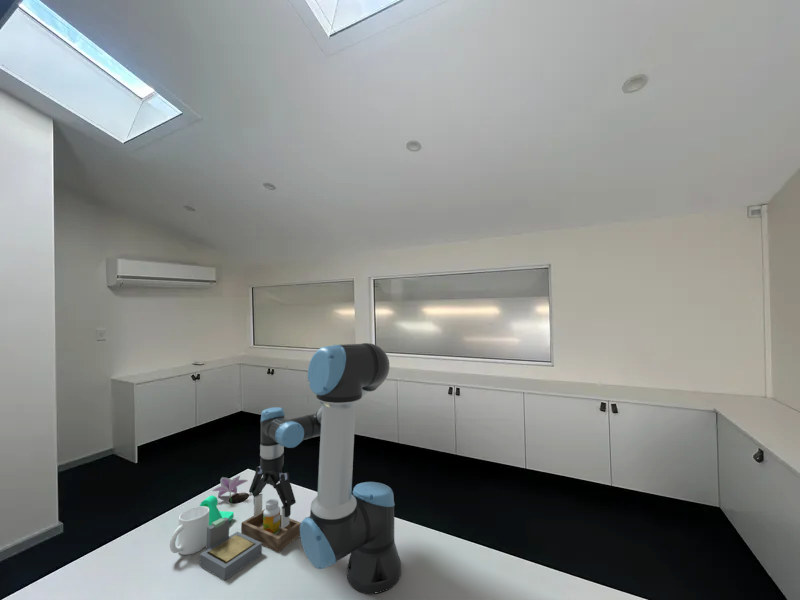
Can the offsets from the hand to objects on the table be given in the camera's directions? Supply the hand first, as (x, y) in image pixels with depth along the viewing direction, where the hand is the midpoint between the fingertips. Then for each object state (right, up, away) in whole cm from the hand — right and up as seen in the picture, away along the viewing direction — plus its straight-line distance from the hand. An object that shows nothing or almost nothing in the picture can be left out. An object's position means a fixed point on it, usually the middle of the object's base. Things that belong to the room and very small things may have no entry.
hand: (271, 520), depth 110 cm
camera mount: (-24, -6, +6) cm, 25 cm away
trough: (0, -5, 0) cm, 5 cm away
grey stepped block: (-8, -4, -11) cm, 14 cm away
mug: (-23, -5, -7) cm, 25 cm away
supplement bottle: (0, -4, 0) cm, 4 cm away
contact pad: (-7, -2, -11) cm, 14 cm away
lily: (-27, -8, +24) cm, 37 cm away
